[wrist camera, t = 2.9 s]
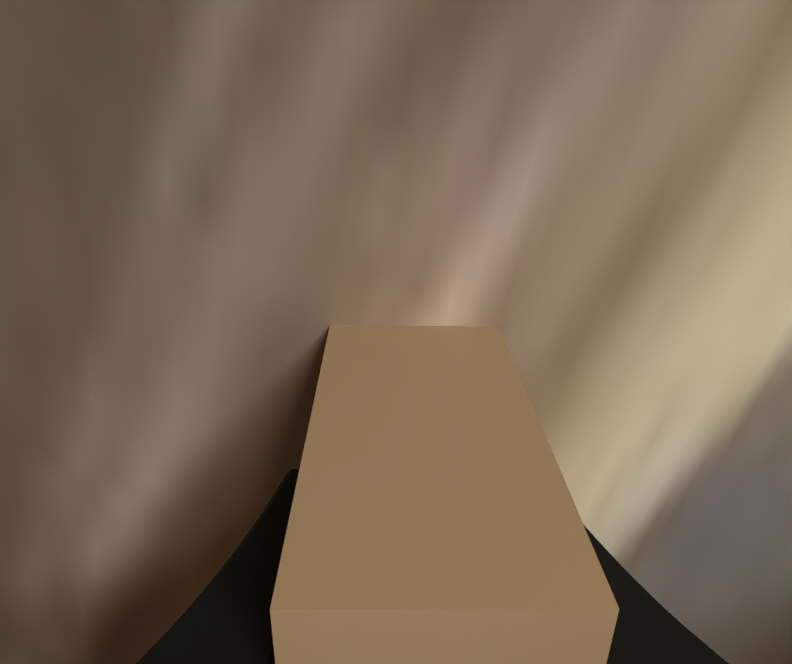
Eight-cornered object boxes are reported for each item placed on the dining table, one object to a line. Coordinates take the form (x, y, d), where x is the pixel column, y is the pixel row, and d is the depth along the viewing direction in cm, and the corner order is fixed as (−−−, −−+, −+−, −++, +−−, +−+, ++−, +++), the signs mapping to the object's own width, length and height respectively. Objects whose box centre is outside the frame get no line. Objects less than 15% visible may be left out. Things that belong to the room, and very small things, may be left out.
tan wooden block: (498, 326, 11) (619, 609, 5) (474, 576, 13) (539, 945, 8) (329, 325, 11) (270, 609, 5) (338, 576, 13) (303, 949, 8)
